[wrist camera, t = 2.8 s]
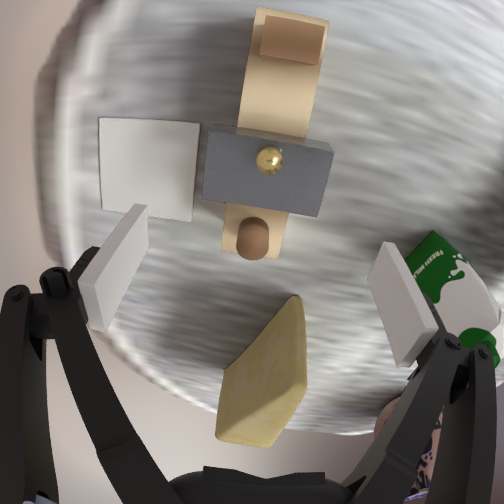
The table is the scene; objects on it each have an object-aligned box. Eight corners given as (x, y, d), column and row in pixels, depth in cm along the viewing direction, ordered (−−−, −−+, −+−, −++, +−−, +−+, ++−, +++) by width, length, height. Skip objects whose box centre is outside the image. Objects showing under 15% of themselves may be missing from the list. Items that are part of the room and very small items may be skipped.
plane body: (258, 17, 24) (254, -6, 15) (318, 28, 25) (342, 11, 16) (227, 222, 38) (213, 280, 29) (276, 230, 38) (278, 290, 29)
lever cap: (214, 123, 25) (205, 134, 22) (327, 143, 26) (337, 156, 22) (207, 185, 29) (198, 205, 25) (312, 202, 29) (318, 224, 26)
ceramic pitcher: (433, 372, 55) (462, 474, 35) (440, 404, 65) (461, 484, 44) (360, 402, 61) (374, 503, 40) (382, 428, 71) (394, 507, 50)
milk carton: (433, 221, 36) (512, 333, 19) (464, 253, 38) (530, 356, 22) (390, 266, 40) (441, 389, 24) (425, 292, 43) (473, 401, 26)
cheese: (265, 284, 43) (262, 376, 31) (327, 302, 44) (342, 391, 32) (222, 369, 55) (212, 442, 42) (271, 380, 56) (270, 451, 44)
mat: (101, 117, 31) (99, 118, 30) (200, 123, 31) (199, 124, 31) (104, 208, 37) (102, 209, 37) (192, 220, 38) (191, 222, 37)
